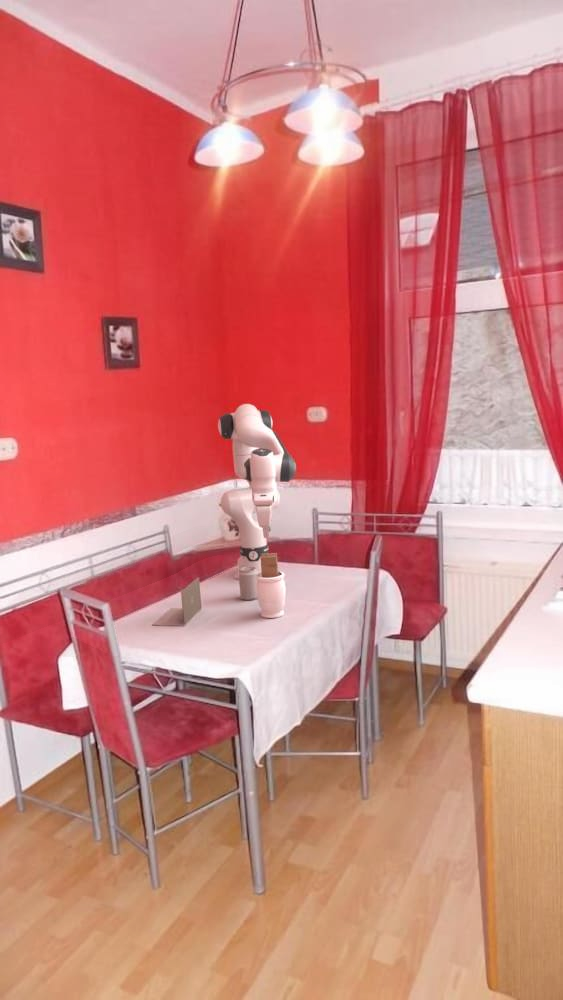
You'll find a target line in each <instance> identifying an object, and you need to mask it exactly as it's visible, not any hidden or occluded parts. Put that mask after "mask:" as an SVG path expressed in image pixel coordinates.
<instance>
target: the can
mask: <svg viewBox="0 0 563 1000" xmlns="http://www.w3.org/2000/svg"><path fill="white" fill-rule="evenodd" d="M240 570H241V571H240V572H239V579H238V581H239V583H238V584H239V593H240V594H239V596H240V598H241V599H242V600H243V601H254V600H258V597H257V579H256V575H257V574H258V571H257V570H256V568H255V567H244V568H241V569H240Z"/></svg>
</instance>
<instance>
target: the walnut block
mask: <svg viewBox="0 0 563 1000" xmlns="http://www.w3.org/2000/svg"><path fill="white" fill-rule="evenodd" d="M260 558H261V573H262V577H271V576H278V571H279V567H278V566H279V565H278V553H277V552H271V553H269V552H268V553H267V554H261V557H260Z"/></svg>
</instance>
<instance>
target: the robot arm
mask: <svg viewBox="0 0 563 1000" xmlns="http://www.w3.org/2000/svg"><path fill="white" fill-rule="evenodd" d="M273 425H274V424H273V419H272V415H271V413H270V412H269V411H268V410H267V409H266V410H265V409H259V410H258V409H257V407H256V406H255V405H253V404H250V403H243V404H241V405H239V406H238V407H237V408H236V410H235V412H231V413H229V412H228V413H224V414H221V416H220V417H219V418H218V422H217V428H218V429H217V430H218V432H219V435H220V436H221V437H222V439H225V440H232V457H233V467H234V473H235V475H236V476H237V477H238V478H240V479H242V480H244V481H246V482H247V483H248V485H249V487H243V488H235V489H230V490H229V491H225V492H224V493H223V494H222V496H221V498H220V507H221V510H222V511H223V513H225V514H226V515H228V516H229V517H230V518H231V519H232V520H233V521H234V522H235V523H236V525H237V528H238V533H239V538H240V546H239V551H240V556H239V558H237V573H236V574H235V575H234V579H235V580H239V572H240V571H241V570H240V569H241V568H244V567H255V568H256V570H257V571H258V573H261V558H260V557H261V554H267V553H269V551H270V550H269V544H268V542H267V541H268V540H267V539H268V538H269V537H270V532H271V529H272V527H271V526H272V525H271V523H272V519H273V515H274V511H273V510H275V509H277V508H278V507H279V505H280V503H281V495H280V492H279V490H278V485H277V482H278V483H279V482H281V483H287V482H288V483H289V482H290V481H291V480H293V478H294V477H295V476H296V473H297V465H296V462H295V459H294V458H293V456H292V455H291V454H290V453H289V452H288V450H287V448H286V446H285V445H284V443H283V442H282V440H281V438H280V436H279V435H278V434H277V432H276V431H275V430H273ZM253 514H256V517H257V520H255V519H253Z"/></svg>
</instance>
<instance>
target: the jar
mask: <svg viewBox="0 0 563 1000" xmlns="http://www.w3.org/2000/svg"><path fill="white" fill-rule="evenodd" d="M284 578H285V572H283V571H280V570H278V576H271V577H262V573H258V574H257V575H256V579H257V597H258V598H257V600H258V605H259V608H260V610H261V611H262V612H261V614H260V616H261V617H263V618H265V619H276V618H280V617H282V616H284V615H285V611H284V608H285V605H286V604H285V603H286V593H287V592H286V583H285V579H284Z"/></svg>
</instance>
